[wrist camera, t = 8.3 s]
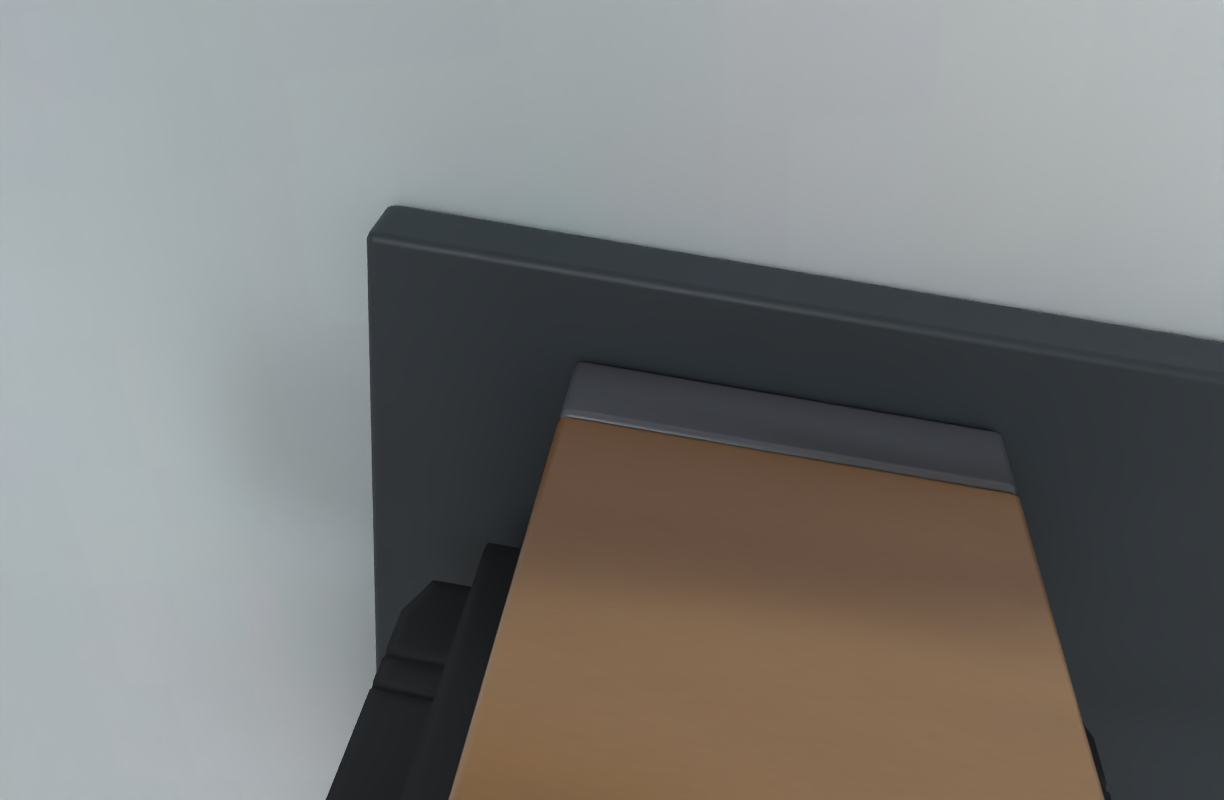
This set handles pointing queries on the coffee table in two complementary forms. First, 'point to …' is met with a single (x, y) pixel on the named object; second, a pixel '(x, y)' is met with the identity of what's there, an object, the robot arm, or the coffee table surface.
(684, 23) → the coffee table surface
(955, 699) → the eraser
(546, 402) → the slate
